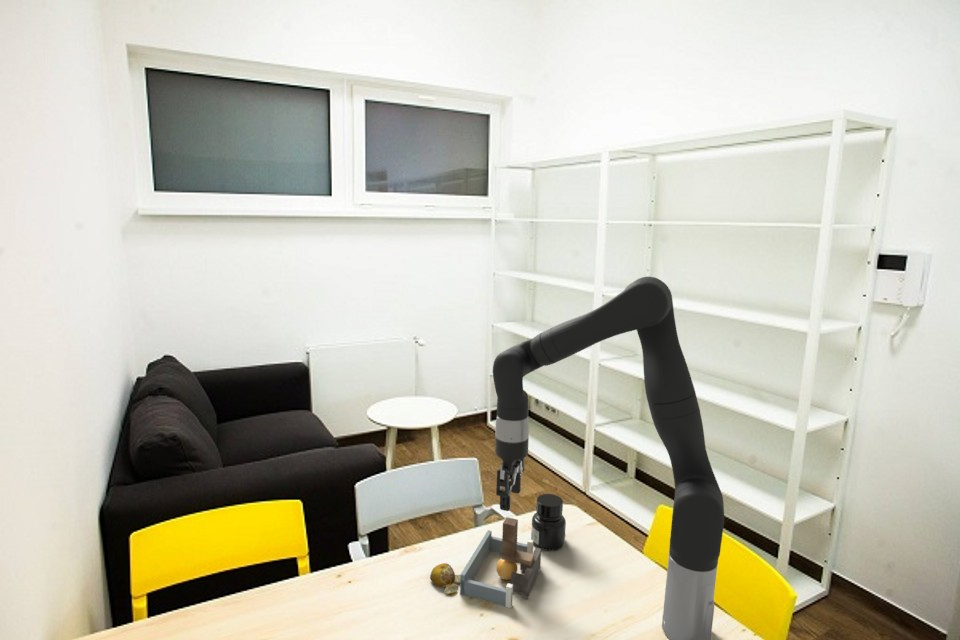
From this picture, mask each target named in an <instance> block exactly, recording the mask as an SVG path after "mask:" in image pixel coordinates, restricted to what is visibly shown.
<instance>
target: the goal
mask: <svg viewBox="0 0 960 640" xmlns="http://www.w3.org/2000/svg"><path fill="white" fill-rule="evenodd" d="M517 550H518V551H522V552H527V553H531V554H533V552H534V544H533V540H531V538H530V539H529V538H528V540H527V543H523V542H519V541H517ZM490 552H494V553H497V554H502V538H500V537H497V536H493V535H492V530H490V529H489V530H486V532H485V535H484V536H483V538H482V539H481V540H480V542H479V544H478V545H477V547H476V548H475V550H474V552H473V553H472V556H471V557H470V559H469V560H468V562H467V563H466V565H465V567H464V568H463V570H462V571H461V573H460V574H459V575H460V582H459V583H460V584H459V585H460V587H459V594H460V595H461V596H465V597H469V598H473V599H475V600H476V599H477V600H480V601H484V602H488V603H491V604H496V605H498V606H503V607H504V608H505V607H506V608H508V609H511V608H512V606H513V592H514V591H513V584H511V583H508V582H507V584H506V586H505V588H503V587H499V586H496V585H492V584H487V583H484V582H481V581H477V580H476V581H475V580H474V579H475V577H476V575H477V574H478V572H479V570H480V568H481V567H482V565H483V563H484V562H485V560H486V558H487V556H488V554H489V553H490Z"/></svg>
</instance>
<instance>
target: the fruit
mask: <svg viewBox="0 0 960 640" xmlns="http://www.w3.org/2000/svg"><path fill="white" fill-rule="evenodd" d="M429 579H430V581H431V583H432V584H433V585H434V586H436V587H438V588H440V589H441V588H444V587H445V588H444V594H445V595H446V596H447V595H451V596H454V595H457V594H458V593H459V592H458V590H459V585H458V584H457V583H460V574H455V571H454V568H453V567H452V566H451V565H450V564H449V563H448V562H447V563H446V562H443V563H440V564H437V565H436V566H435V567H433V568H432V570H431V572H430V576H429Z"/></svg>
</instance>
